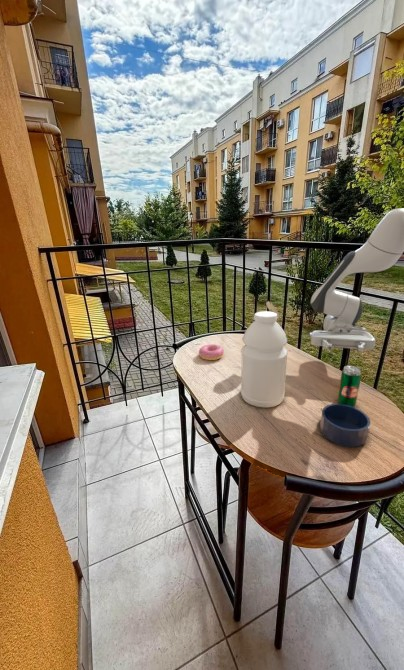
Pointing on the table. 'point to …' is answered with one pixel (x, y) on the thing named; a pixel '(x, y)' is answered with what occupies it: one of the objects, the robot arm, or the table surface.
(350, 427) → the bowl
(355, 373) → the soda can
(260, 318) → the bottle
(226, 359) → the table surface
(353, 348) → the robot arm
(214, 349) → the doughnut
